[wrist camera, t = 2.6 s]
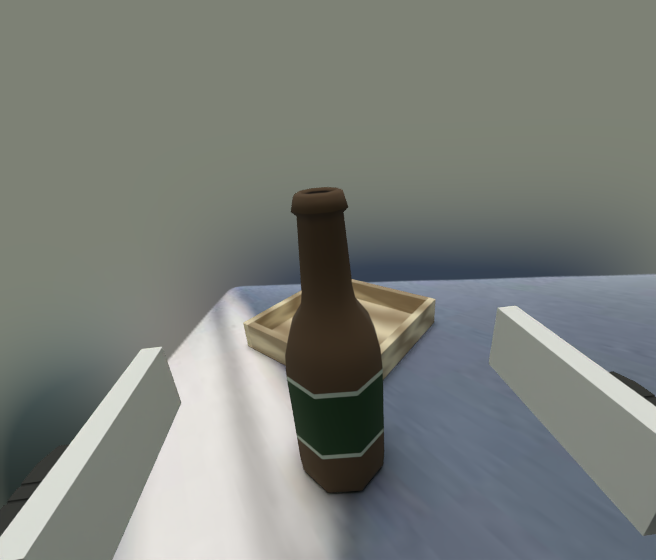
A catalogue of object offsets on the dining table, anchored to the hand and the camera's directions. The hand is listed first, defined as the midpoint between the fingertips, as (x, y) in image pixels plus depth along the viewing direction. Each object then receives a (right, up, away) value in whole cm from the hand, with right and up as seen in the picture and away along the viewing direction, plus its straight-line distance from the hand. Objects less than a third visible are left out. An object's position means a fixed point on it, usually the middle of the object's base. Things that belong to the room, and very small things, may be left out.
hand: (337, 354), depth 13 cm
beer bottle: (+1, -13, +17) cm, 22 cm away
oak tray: (+2, -5, +35) cm, 35 cm away
